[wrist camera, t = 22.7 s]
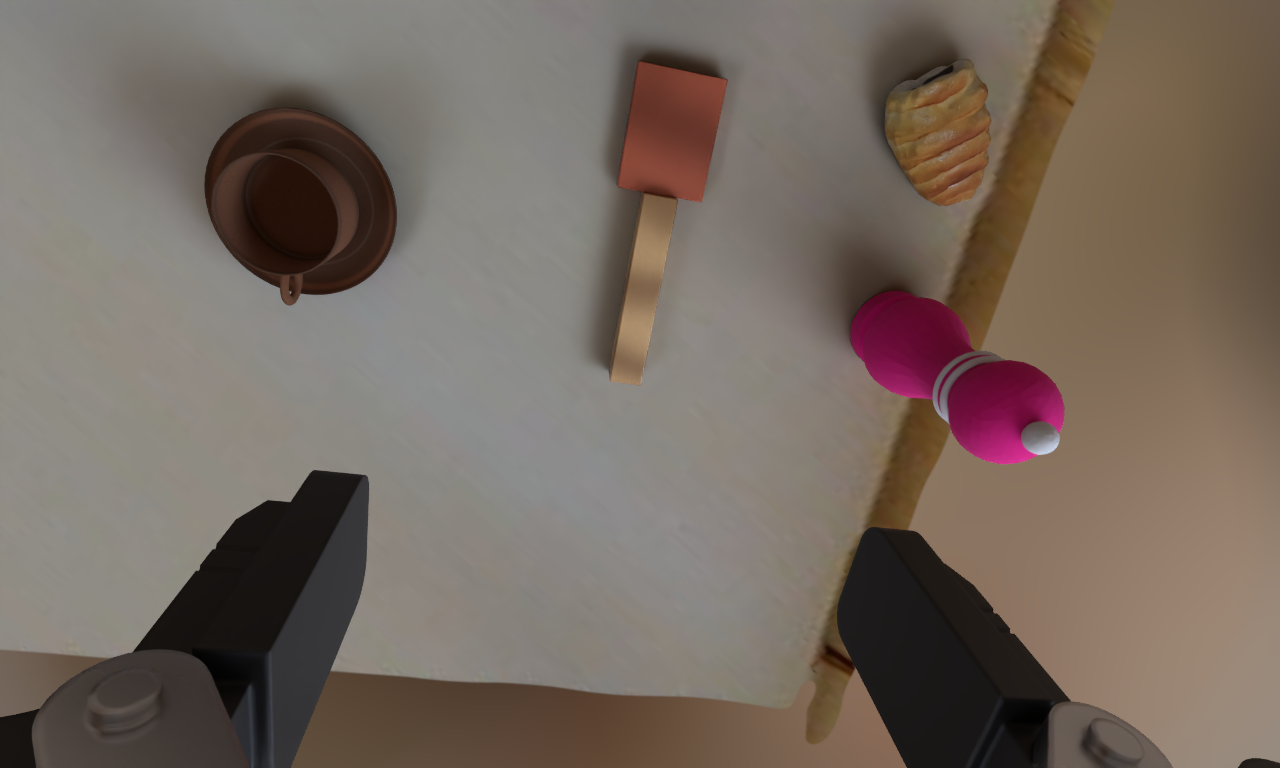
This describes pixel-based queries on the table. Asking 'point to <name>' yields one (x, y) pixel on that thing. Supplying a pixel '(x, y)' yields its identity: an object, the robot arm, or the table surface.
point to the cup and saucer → (300, 201)
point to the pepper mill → (958, 378)
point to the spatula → (660, 190)
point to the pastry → (941, 131)
